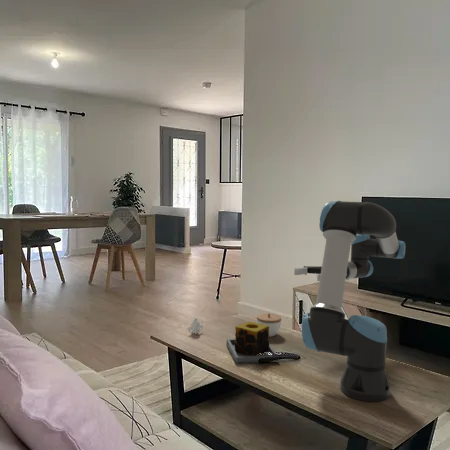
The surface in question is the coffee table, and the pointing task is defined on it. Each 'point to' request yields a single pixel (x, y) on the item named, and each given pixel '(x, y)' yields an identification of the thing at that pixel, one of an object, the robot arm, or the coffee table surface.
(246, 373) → the coffee table surface
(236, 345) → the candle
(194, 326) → the rocket toy
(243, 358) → the tray
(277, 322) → the lidded jar
